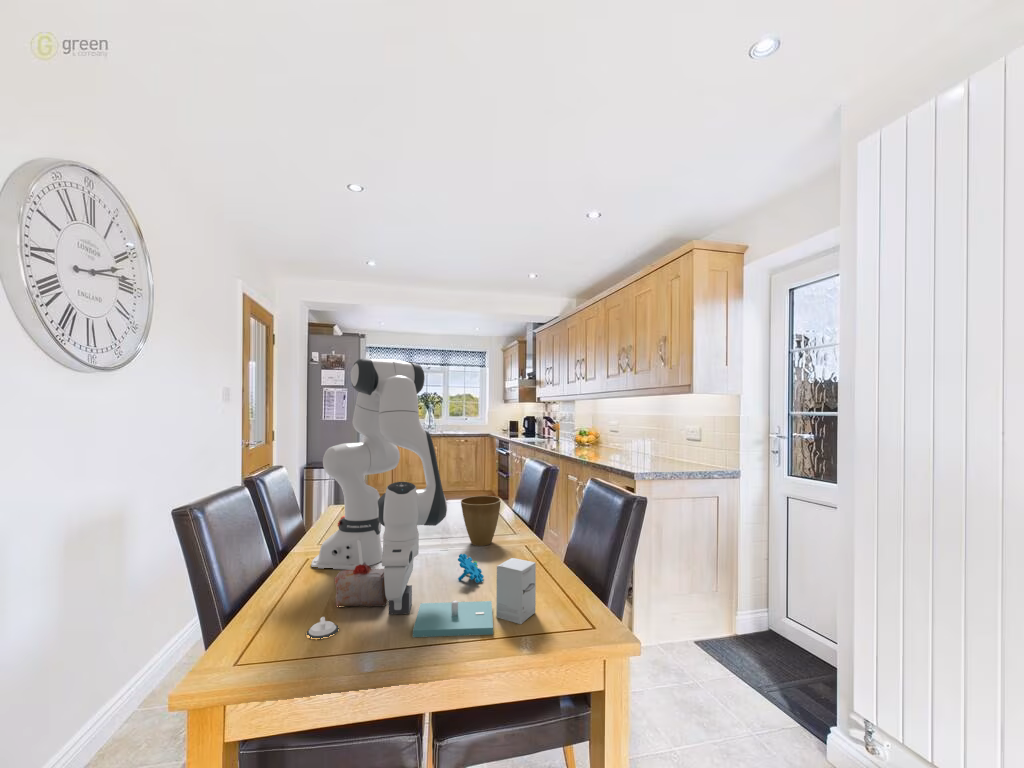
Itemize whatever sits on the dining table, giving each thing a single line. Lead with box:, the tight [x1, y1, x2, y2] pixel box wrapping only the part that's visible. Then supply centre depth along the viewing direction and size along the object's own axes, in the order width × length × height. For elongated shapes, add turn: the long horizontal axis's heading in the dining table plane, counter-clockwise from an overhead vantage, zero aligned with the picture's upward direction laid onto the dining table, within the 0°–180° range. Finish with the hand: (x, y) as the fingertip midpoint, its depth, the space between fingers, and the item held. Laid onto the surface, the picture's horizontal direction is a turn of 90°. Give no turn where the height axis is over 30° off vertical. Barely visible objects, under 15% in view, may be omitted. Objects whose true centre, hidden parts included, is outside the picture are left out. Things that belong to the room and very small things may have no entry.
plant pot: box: [460, 495, 502, 547], centre depth 173 cm, size 15×15×16 cm
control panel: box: [412, 600, 494, 638], centre depth 112 cm, size 18×14×4 cm
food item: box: [334, 562, 389, 608], centre depth 122 cm, size 14×8×10 cm, turn 94°
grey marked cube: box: [388, 584, 413, 615], centre depth 118 cm, size 5×5×5 cm
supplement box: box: [495, 557, 537, 625], centre depth 115 cm, size 7×7×13 cm
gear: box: [457, 553, 484, 584], centre depth 137 cm, size 11×6×10 cm
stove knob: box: [306, 616, 340, 639], centre depth 107 cm, size 7×7×3 cm
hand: (400, 603), depth 118 cm, fingers closed on grey marked cube, 5 cm apart
